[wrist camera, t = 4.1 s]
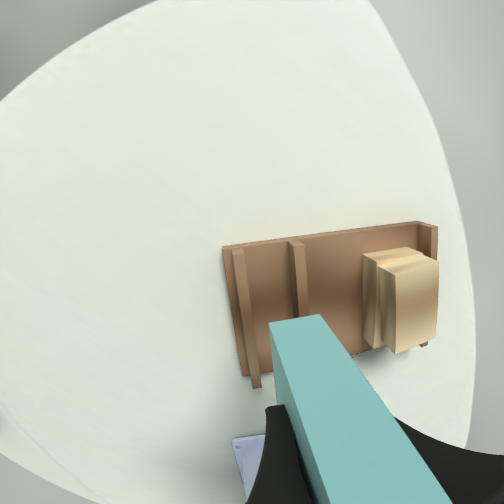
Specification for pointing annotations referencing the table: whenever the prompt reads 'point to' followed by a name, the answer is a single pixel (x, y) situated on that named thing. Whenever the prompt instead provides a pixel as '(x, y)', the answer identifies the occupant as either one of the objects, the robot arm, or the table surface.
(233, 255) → the walnut rack
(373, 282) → the lower oak offcut
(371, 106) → the table surface
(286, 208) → the table surface
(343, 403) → the teal block
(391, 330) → the upper oak offcut
